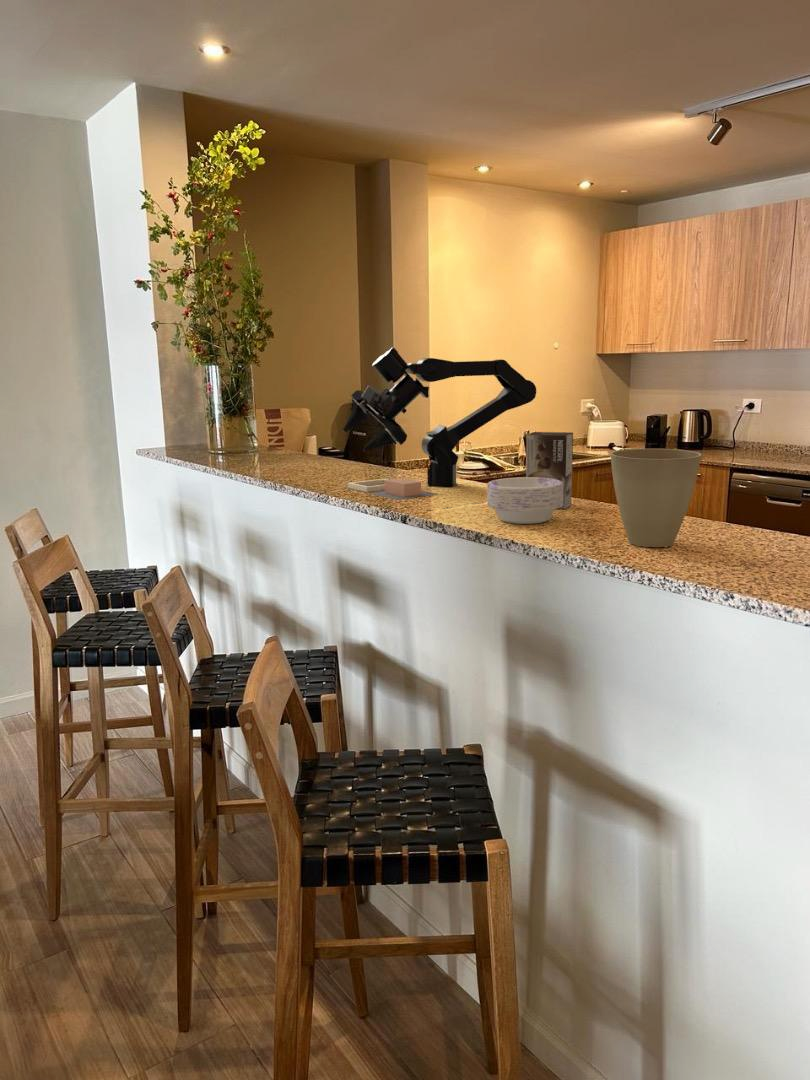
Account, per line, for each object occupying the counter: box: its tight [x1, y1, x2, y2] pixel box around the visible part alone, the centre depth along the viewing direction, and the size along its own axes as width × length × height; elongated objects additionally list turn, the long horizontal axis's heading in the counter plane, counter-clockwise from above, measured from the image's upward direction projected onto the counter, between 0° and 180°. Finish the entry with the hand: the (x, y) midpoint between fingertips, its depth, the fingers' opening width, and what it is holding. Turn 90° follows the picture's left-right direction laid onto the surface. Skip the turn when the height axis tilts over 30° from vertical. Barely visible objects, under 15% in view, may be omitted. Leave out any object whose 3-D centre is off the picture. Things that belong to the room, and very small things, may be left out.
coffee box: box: [525, 431, 574, 510], centre depth 171 cm, size 9×6×16 cm
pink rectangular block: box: [385, 477, 422, 497], centre depth 187 cm, size 8×5×3 cm, turn 36°
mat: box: [343, 478, 439, 501], centre depth 191 cm, size 24×12×2 cm, turn 36°
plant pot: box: [609, 448, 702, 548], centre depth 135 cm, size 15×15×16 cm
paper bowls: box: [486, 476, 563, 525], centre depth 157 cm, size 15×15×8 cm
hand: (353, 440), depth 192 cm, fingers open, 9 cm apart
